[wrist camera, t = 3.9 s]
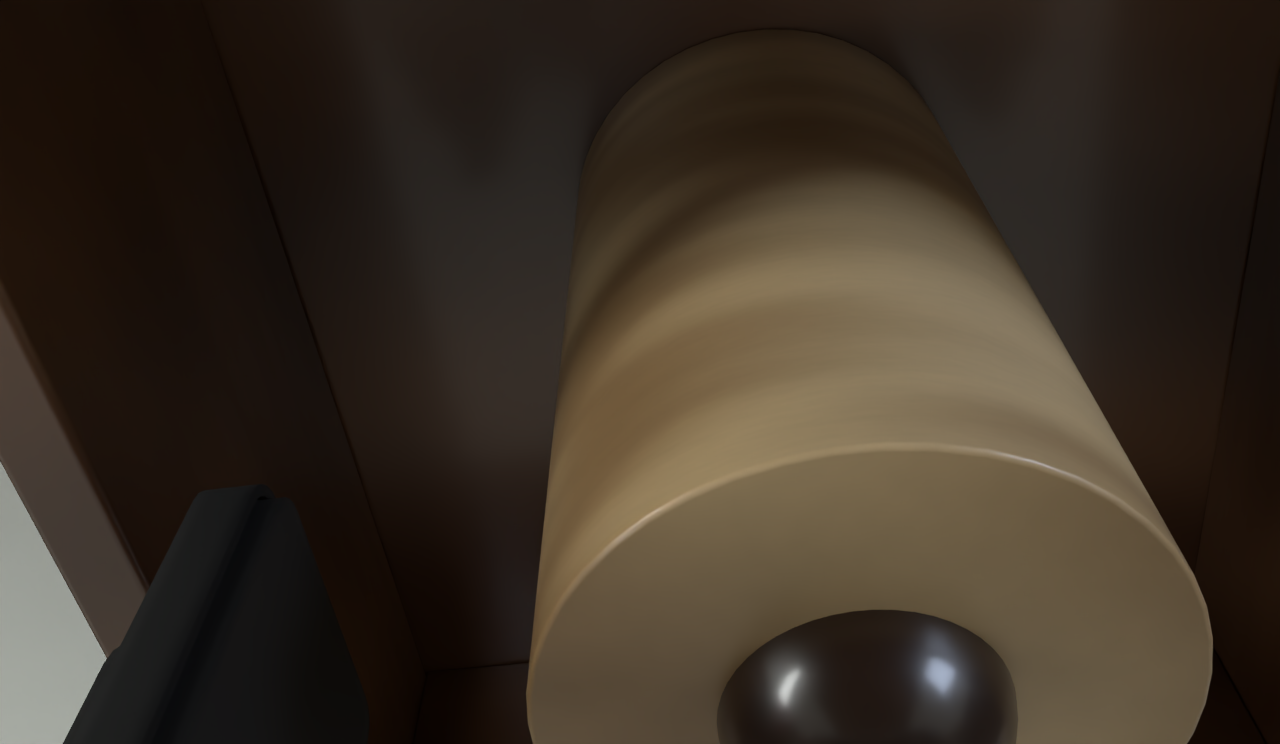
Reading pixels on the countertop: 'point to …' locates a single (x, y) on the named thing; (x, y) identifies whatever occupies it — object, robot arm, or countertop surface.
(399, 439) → the chest
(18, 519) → the countertop surface
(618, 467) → the pepper mill
